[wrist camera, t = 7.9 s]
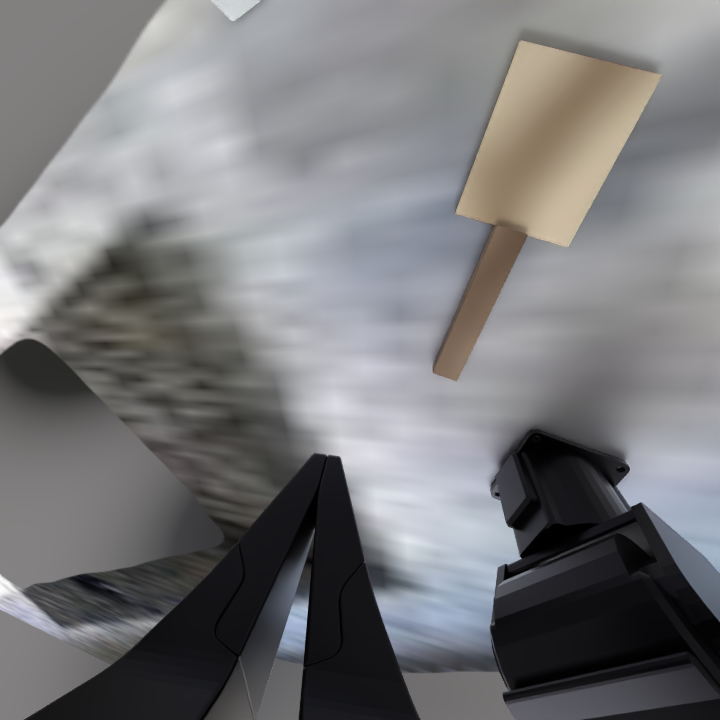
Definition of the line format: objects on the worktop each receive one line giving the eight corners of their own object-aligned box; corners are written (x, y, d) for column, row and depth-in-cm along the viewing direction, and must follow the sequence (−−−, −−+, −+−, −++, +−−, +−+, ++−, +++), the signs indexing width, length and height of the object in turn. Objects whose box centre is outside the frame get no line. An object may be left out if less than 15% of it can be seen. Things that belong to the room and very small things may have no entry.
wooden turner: (653, 81, 13) (668, 70, 12) (488, 385, 20) (490, 393, 19) (517, 47, 14) (522, 34, 13) (401, 355, 21) (400, 361, 20)
